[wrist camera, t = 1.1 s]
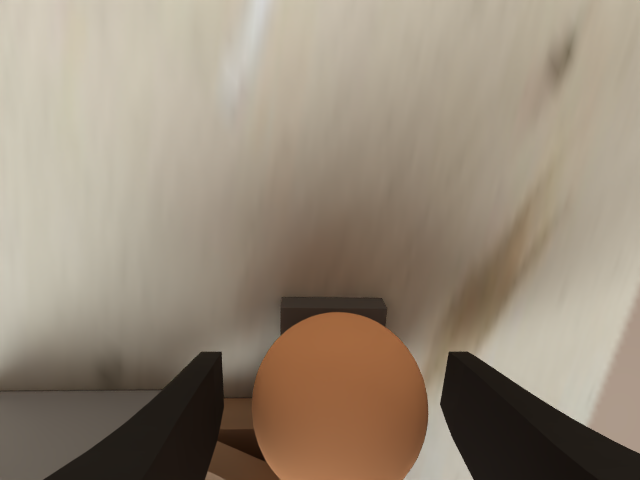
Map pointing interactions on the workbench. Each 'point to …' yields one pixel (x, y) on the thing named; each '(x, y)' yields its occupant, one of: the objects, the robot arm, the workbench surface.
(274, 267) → the workbench surface
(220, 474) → the ramp
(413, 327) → the workbench surface
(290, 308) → the dark gray picture frame
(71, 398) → the gray open storage bin
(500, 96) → the workbench surface
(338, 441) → the ball
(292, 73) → the workbench surface
